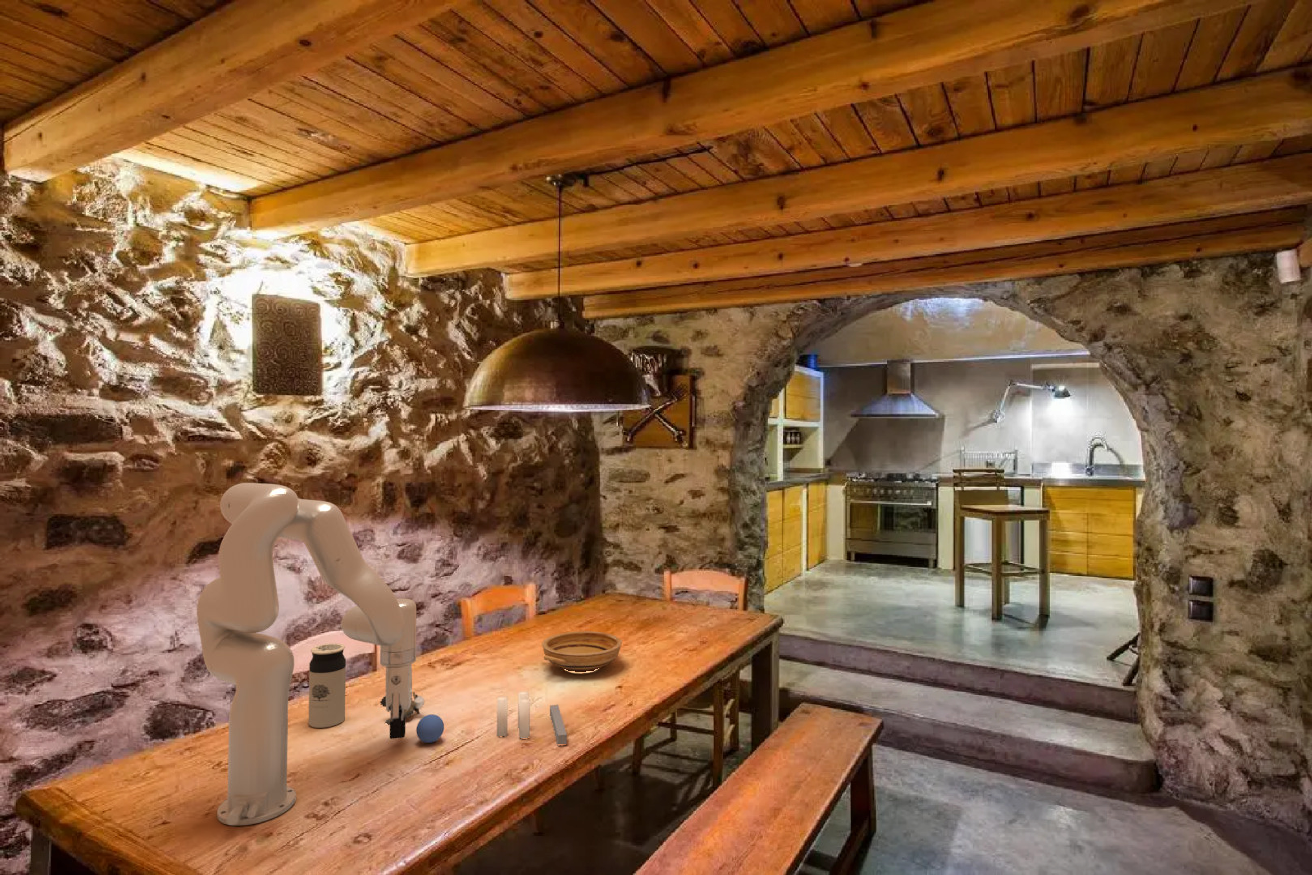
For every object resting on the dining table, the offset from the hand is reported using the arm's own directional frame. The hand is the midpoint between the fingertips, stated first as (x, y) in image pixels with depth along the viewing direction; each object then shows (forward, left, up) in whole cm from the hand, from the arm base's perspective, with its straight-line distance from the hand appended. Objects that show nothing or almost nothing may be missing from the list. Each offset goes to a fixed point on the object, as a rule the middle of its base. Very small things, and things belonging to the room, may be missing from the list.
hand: (397, 736), depth 153 cm
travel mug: (+17, +18, -2) cm, 25 cm away
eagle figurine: (+15, 0, -2) cm, 15 cm away
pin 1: (+2, -28, -2) cm, 28 cm away
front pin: (0, -23, -2) cm, 23 cm away
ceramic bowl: (+43, -48, -2) cm, 64 cm away
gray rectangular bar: (0, -36, -2) cm, 36 cm away
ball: (0, -7, +1) cm, 7 cm away
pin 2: (-3, -28, -2) cm, 28 cm away
